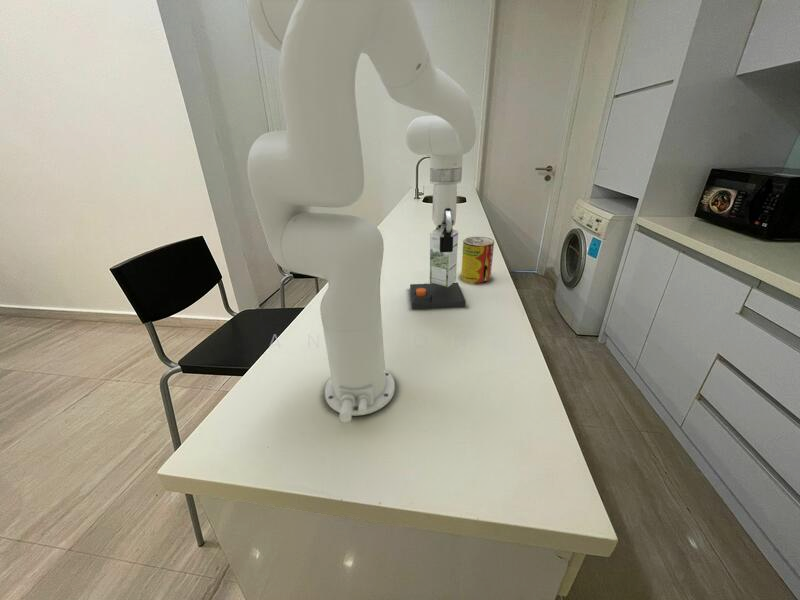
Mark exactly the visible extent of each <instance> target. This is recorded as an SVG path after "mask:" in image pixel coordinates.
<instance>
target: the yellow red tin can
mask: <svg viewBox="0 0 800 600" xmlns="http://www.w3.org/2000/svg"><path fill="white" fill-rule="evenodd" d="M494 246H495V240H494V239H493V238H490V237H487V236H469V237H466V238H464V239H463V240H462V256H461V257H462V258H461V276H460V277H461V280H462V281H464V282H466V283H469V284H475V285H477V284H478V285H480V284H486V283H488V282H490V281H491V279H492V278H491V277H492V269H493V268H492V266H493V258H494V257H493V256H494Z"/></svg>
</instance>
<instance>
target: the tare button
mask: <svg viewBox="0 0 800 600" xmlns="http://www.w3.org/2000/svg"><path fill="white" fill-rule="evenodd" d="M416 296H419V297H423V296H426V289H425V288H418V289H416Z"/></svg>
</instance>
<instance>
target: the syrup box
mask: <svg viewBox="0 0 800 600" xmlns="http://www.w3.org/2000/svg"><path fill="white" fill-rule="evenodd" d="M440 236H441V228H438V229H436V228H435V229H434V230H432V231H430V232H429V284H436V285H440V286H445V287H449V286H450V285H451V284H453V283H456V281H457V268H458V267H457V265H458V247H459V230H458V229H453V251H452V252H440Z"/></svg>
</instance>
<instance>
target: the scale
mask: <svg viewBox="0 0 800 600" xmlns="http://www.w3.org/2000/svg"><path fill="white" fill-rule="evenodd" d="M418 288H425V289H426V296H423V297H419V296H416V289H418ZM409 291H410V292H409V293H410V301H411V309H412V310H427V309H429V310H430V309H451V308H453V309H455V308H466V299H465V296H464V294H463V292H462V289H461V287H460V285H459V282H454V283H453V284H451V285H450V286H449V287H445V286H440V285H436V284H431V283H411V284H409Z"/></svg>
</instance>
